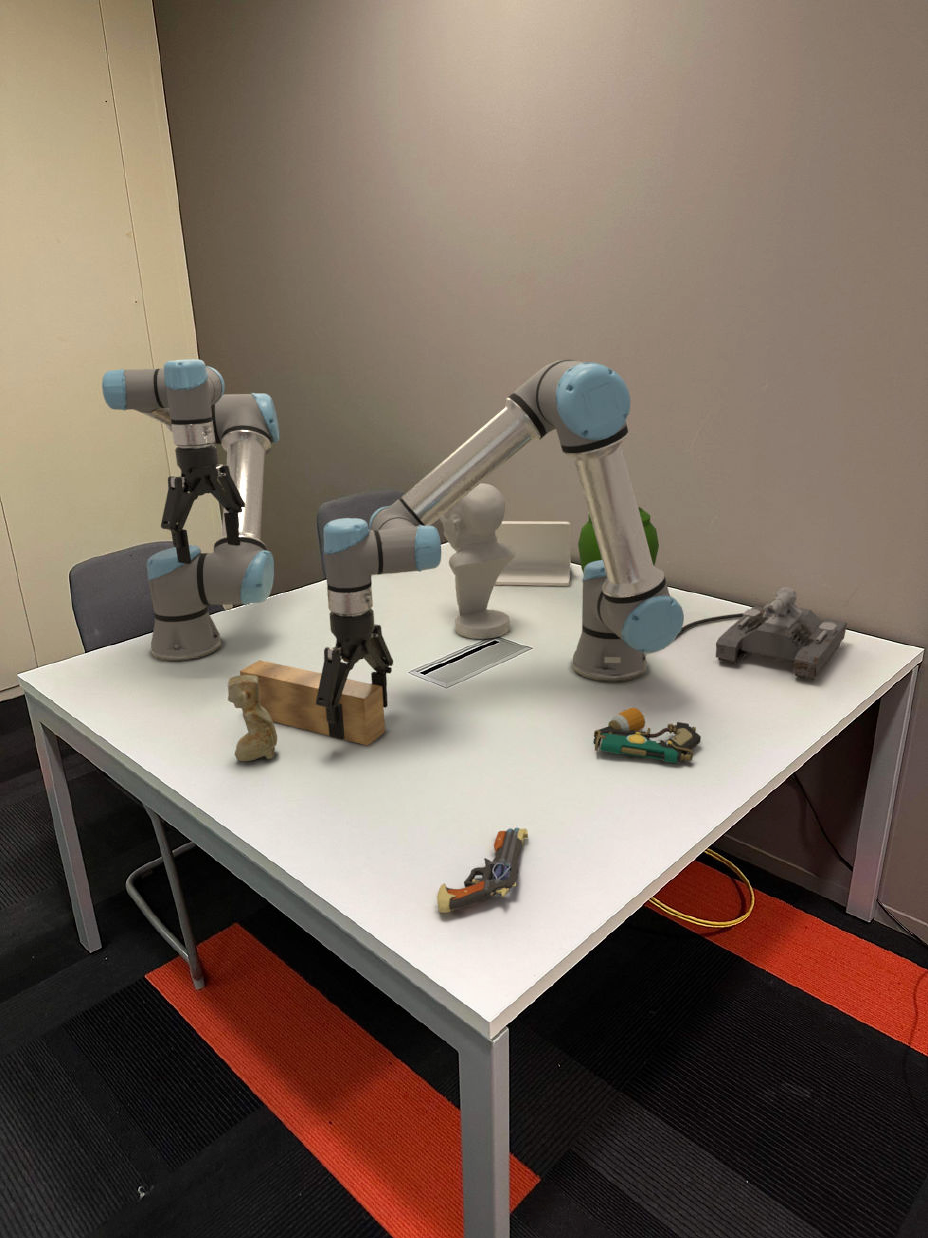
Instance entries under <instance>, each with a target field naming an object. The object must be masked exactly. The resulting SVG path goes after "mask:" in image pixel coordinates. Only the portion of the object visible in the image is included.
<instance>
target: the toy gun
mask: <svg viewBox="0 0 928 1238" xmlns="http://www.w3.org/2000/svg"><path fill="white" fill-rule="evenodd" d="M525 839H529V834H528V829H527V828H519V827H514V829H513V828H511V827H509V828H508V829H506V830H499V831H497V835H496V837H495V840H494V843H493V847H494V848H493V849H494V852H495V856H494V858H493V859H492V860H490V859H488V858H486V857H484V859H483V860H484V866H482V867H479V866H477V867H475V868H472V869H471V870H470V873H469V875H468V876H467V877H466V879H465V880H464V881H463V885H464V887H463V888H452V887H451V888H450V887H447V884H446V883H445V882H444V883H442V884H441V885H440V887H439V890H438V891H437V895H436V901H437V908H438V911H439V913H442V914H447V913H451V911H455V910H459V909H463V908H466V907H469V906H471V905H474V904H476V903H479V902H485V901H486V900H490V899H492V898H493V897H496V896H497V895H499V894H501V898H504V897H506V895H507V893H509V892H510V889H511V888H513V887H517V881H518V877H519V871H520V869H519V860H520V854H521V849H522V846H523V844H524V840H525ZM476 876H481V878H480V879H479V880H476ZM492 877H493V879H492Z"/></svg>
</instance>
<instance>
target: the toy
mask: <svg viewBox="0 0 928 1238" xmlns="http://www.w3.org/2000/svg"><path fill="white" fill-rule="evenodd" d="M797 598H798V595H797V592H796V591H795V590H794V589H793V588H792V587H789V586H783V587H781V588H779V589H778V590H777V591H776V593H775V598H774V599H773V600H772V601H771V602H766V603H765V605H764V606H763V607H760V606H752V607H751V608H749V609H746V610H745V611H744V612H742V613H743V616H742V617H739V619H738V620H737V621H735V622H734V623H733V624H732V625H731V626H730V627H729V628H728V629H727V630H726V631H725V632H723V633H722V634H721V635H720V636H719V637H718V638H717V640H716V642H715V658H717V660H718V661H719V662H722V663H728V664H734V665H737V664H738V663H739V662H741V660H742V659H743V658H744V657H745V656H746V655H747V654H751V655H756V656H761V657H766V658H770V659H775V660H781V661H785V662H791V663H793V669H792V674H793V675H794V676H796V677H800V678H805V679H810V680H815V679H816V678H817V677H818V676H819V675H820V673H821V672H822V670H823V669H824V668H825V666H826V665H827V663H829V661H830V659H832V657H833V656H834V654H835V653H836V652H837V650H838V649H839V648H840V646H841V644H842V642H843V640H844V639H845V636H846V632H847V626H848V622H845V621H840V620H835V619H828V618H827V619H825V620H824V621H822V620H821V619H820V618H819V617H818V616H817V615H816V613H814V612H813V611H812V610H811V609H807V608H801V607H799V606H798V605H797V604H795V603H796V601H797Z"/></svg>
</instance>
